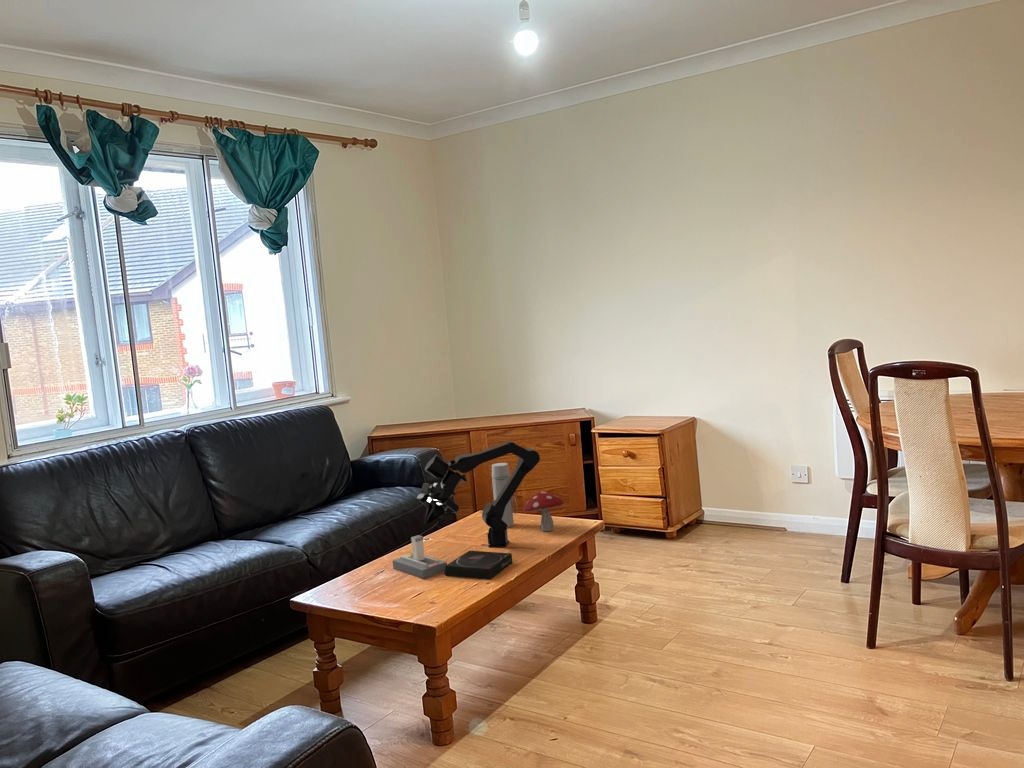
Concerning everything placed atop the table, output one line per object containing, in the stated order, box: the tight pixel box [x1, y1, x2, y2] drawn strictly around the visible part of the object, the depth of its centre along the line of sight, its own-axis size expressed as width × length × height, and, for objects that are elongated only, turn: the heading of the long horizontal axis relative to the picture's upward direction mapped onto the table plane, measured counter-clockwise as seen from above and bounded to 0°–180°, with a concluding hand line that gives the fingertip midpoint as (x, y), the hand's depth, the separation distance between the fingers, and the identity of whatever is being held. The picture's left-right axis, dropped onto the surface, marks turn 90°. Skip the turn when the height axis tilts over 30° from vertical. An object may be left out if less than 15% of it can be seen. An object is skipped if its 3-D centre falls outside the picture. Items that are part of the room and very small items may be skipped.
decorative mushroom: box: [522, 491, 565, 532], centre depth 307 cm, size 16×16×15 cm
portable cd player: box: [444, 550, 514, 581], centre depth 268 cm, size 16×17×4 cm
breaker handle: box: [410, 534, 425, 561], centre depth 272 cm, size 3×3×8 cm
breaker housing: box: [392, 552, 448, 580], centre depth 273 cm, size 10×18×4 cm, turn 41°
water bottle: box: [491, 462, 518, 528], centre depth 318 cm, size 9×8×25 cm
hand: (425, 523), depth 281 cm, fingers closed
